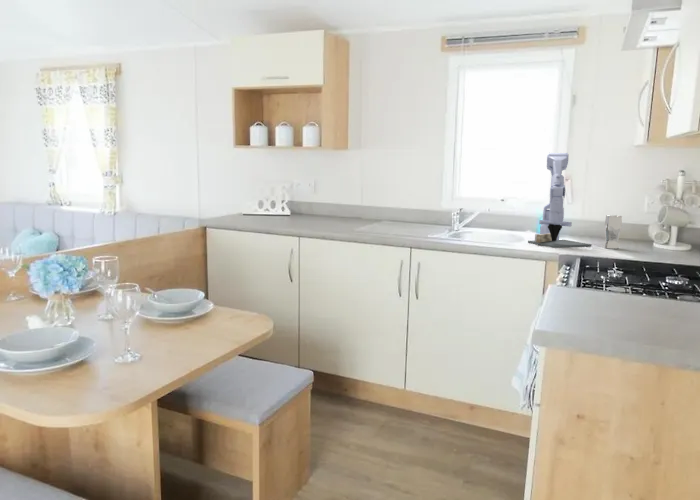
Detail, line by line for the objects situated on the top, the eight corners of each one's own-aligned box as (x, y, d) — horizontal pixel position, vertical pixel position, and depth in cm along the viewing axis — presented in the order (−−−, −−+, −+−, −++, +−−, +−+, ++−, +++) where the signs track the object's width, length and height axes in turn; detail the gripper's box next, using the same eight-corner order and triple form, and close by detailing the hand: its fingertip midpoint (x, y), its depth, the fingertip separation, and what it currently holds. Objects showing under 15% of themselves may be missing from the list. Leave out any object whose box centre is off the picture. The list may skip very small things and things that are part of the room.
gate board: (527, 242, 268) (528, 232, 268) (564, 241, 276) (564, 232, 275) (553, 247, 252) (554, 237, 251) (591, 246, 259) (592, 236, 259)
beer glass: (610, 249, 250) (613, 216, 248) (599, 247, 257) (602, 215, 255) (622, 249, 252) (625, 216, 250) (612, 247, 259) (614, 215, 257)
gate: (551, 239, 271) (551, 232, 271) (555, 240, 270) (556, 233, 269) (535, 242, 260) (536, 234, 260) (540, 242, 259) (540, 235, 258)
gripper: (537, 211, 260) (535, 239, 262) (568, 213, 250) (566, 242, 252) (543, 210, 265) (541, 238, 267) (574, 212, 255) (571, 241, 257)
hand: (553, 240), depth 260 cm, fingers closed
